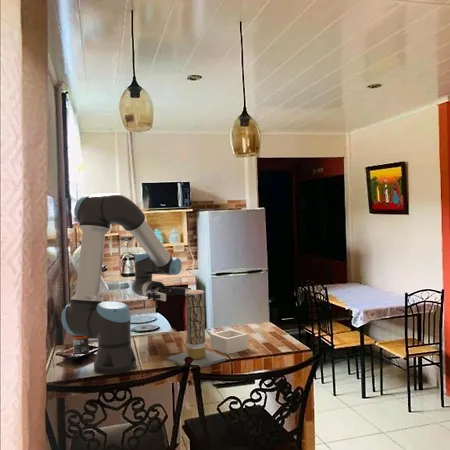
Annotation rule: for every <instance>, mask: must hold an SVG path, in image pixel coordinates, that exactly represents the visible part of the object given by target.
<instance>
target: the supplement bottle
mask: <svg viewBox="0 0 450 450" xmlns="http://www.w3.org/2000/svg"><path fill="white" fill-rule="evenodd" d="M72 347H73V348H72V349H73V354H74V353H75V354H87V356H88V354H89V355H90V342H89V337H88V336H76V335H73V334H72Z"/></svg>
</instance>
